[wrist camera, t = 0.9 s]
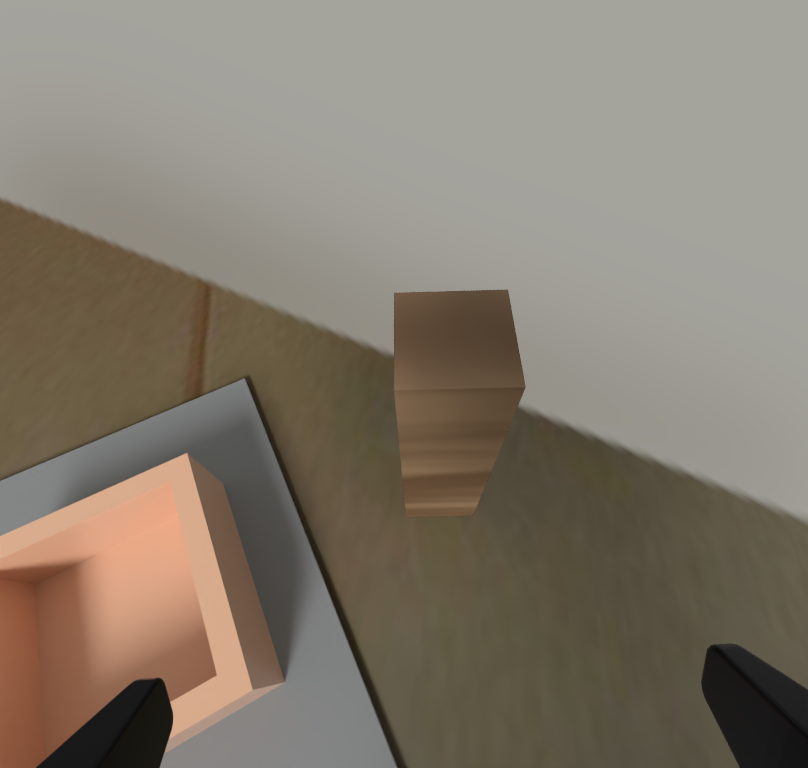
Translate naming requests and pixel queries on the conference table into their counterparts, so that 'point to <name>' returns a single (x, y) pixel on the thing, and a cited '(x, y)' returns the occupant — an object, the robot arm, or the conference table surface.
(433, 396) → the square wooden post
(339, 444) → the conference table surface
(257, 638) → the peach square bin
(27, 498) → the mat
